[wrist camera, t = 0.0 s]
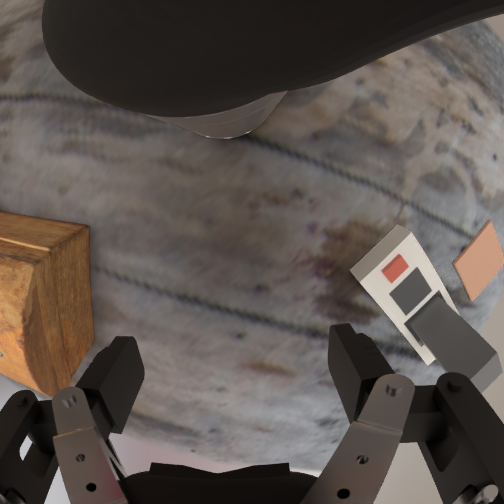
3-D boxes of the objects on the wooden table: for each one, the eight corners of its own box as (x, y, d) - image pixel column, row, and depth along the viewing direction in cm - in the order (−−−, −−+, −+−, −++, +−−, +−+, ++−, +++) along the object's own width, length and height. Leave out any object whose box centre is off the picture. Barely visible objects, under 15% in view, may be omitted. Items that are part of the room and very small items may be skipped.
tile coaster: (452, 263, 29) (454, 264, 29) (488, 219, 28) (491, 220, 27) (470, 300, 31) (472, 302, 31) (503, 260, 30) (505, 261, 29)
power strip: (349, 269, 29) (361, 285, 26) (397, 224, 28) (414, 234, 24) (427, 364, 35) (438, 379, 31) (461, 332, 33) (474, 345, 30)
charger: (404, 318, 29) (460, 389, 18) (433, 291, 28) (497, 351, 17) (419, 338, 30) (469, 404, 19) (446, 312, 29) (503, 371, 18)
